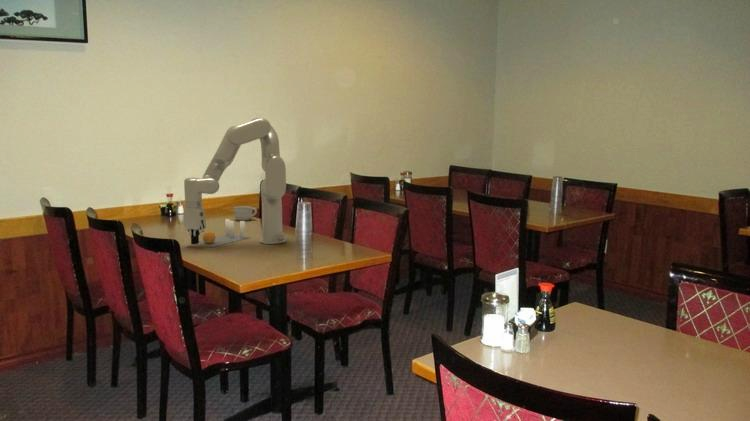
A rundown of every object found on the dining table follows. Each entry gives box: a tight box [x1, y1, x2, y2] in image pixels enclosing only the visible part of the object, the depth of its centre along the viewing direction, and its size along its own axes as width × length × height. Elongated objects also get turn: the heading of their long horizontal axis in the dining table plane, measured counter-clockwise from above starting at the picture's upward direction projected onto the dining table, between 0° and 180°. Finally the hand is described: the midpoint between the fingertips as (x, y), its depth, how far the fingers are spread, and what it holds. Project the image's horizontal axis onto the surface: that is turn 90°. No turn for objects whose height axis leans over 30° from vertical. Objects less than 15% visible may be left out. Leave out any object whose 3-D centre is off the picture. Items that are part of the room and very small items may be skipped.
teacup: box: [233, 205, 258, 222], centre depth 340 cm, size 14×11×8 cm
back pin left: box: [239, 221, 246, 238], centre depth 291 cm, size 2×2×8 cm
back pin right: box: [224, 218, 231, 236], centre depth 296 cm, size 2×2×8 cm
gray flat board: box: [195, 234, 252, 248], centre depth 287 cm, size 14×26×1 cm, turn 149°
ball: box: [202, 230, 217, 244], centre depth 279 cm, size 6×6×6 cm
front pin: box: [229, 220, 235, 238], centre depth 292 cm, size 2×2×8 cm
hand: (195, 243), depth 272 cm, fingers closed
